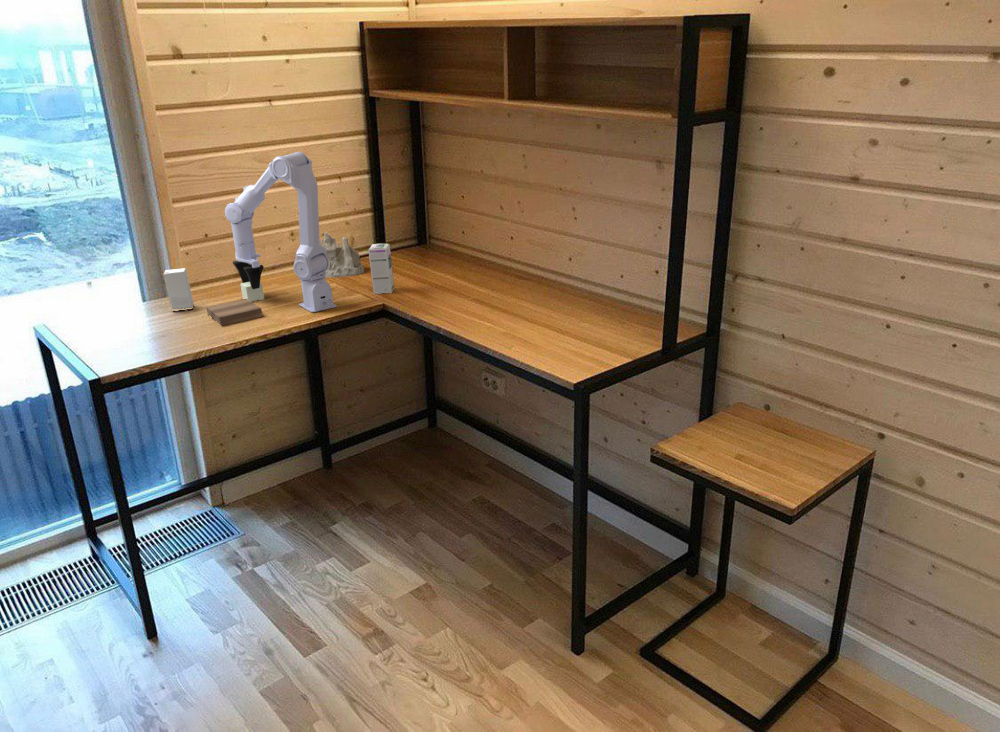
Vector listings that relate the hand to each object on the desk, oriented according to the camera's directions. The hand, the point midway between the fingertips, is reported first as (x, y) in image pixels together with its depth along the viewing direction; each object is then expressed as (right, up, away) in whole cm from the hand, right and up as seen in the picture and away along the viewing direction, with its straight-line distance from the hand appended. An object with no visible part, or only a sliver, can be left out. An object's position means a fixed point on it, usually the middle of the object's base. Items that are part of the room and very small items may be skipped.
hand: (251, 285), depth 244 cm
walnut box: (-1, -11, -13) cm, 16 cm away
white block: (0, -4, +2) cm, 4 cm away
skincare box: (-19, -8, -5) cm, 21 cm away
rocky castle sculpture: (+22, +8, +28) cm, 36 cm away
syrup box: (+40, -2, +4) cm, 40 cm away
